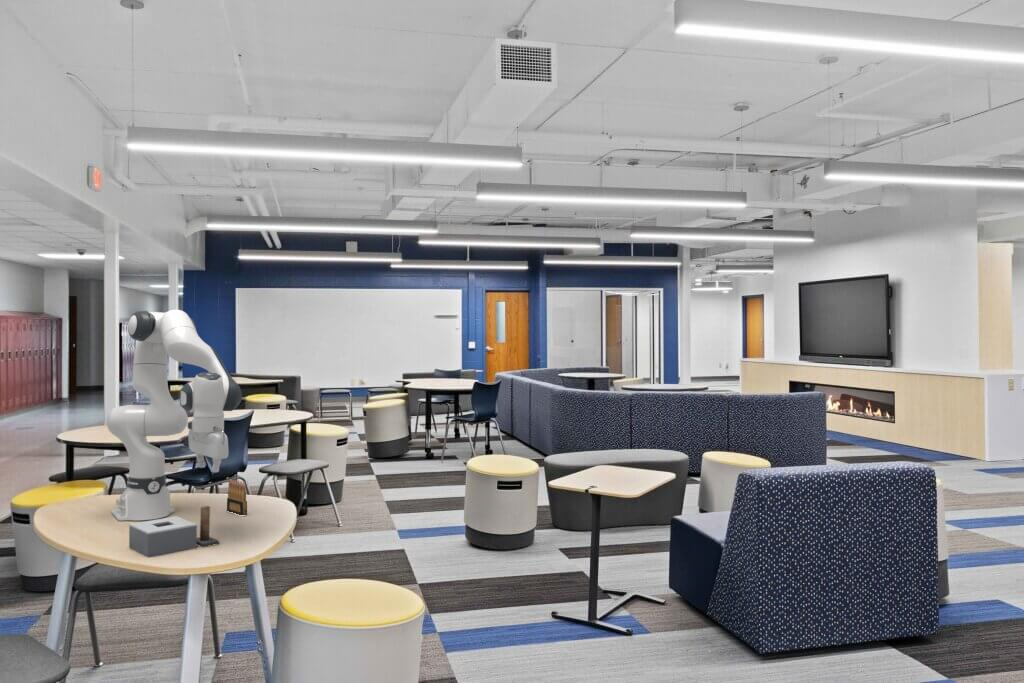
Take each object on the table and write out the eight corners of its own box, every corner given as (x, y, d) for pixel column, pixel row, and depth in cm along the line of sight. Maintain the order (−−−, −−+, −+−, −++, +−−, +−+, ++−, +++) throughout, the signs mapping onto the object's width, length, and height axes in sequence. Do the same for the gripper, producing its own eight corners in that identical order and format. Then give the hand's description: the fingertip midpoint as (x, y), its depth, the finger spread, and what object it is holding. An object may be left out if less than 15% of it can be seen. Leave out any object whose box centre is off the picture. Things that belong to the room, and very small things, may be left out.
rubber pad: (191, 542, 230) (191, 538, 230) (207, 539, 234) (207, 535, 234) (202, 547, 225) (202, 543, 225) (219, 544, 228) (219, 540, 228)
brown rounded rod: (198, 539, 229) (199, 506, 229) (206, 538, 231) (207, 505, 231) (202, 541, 227) (203, 508, 227) (210, 539, 229) (211, 507, 229)
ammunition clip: (226, 511, 270) (226, 478, 270) (231, 511, 271) (231, 478, 271) (242, 516, 263) (242, 482, 263) (247, 515, 264) (247, 481, 264)
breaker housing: (129, 547, 223) (129, 524, 223) (176, 538, 234) (176, 516, 234) (148, 557, 214) (148, 532, 214) (196, 547, 224) (196, 524, 224)
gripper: (234, 428, 227) (233, 473, 228) (204, 420, 241) (204, 463, 242) (213, 430, 223) (213, 476, 223) (184, 422, 237) (184, 466, 237)
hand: (208, 469), depth 232 cm, fingers open, 8 cm apart
